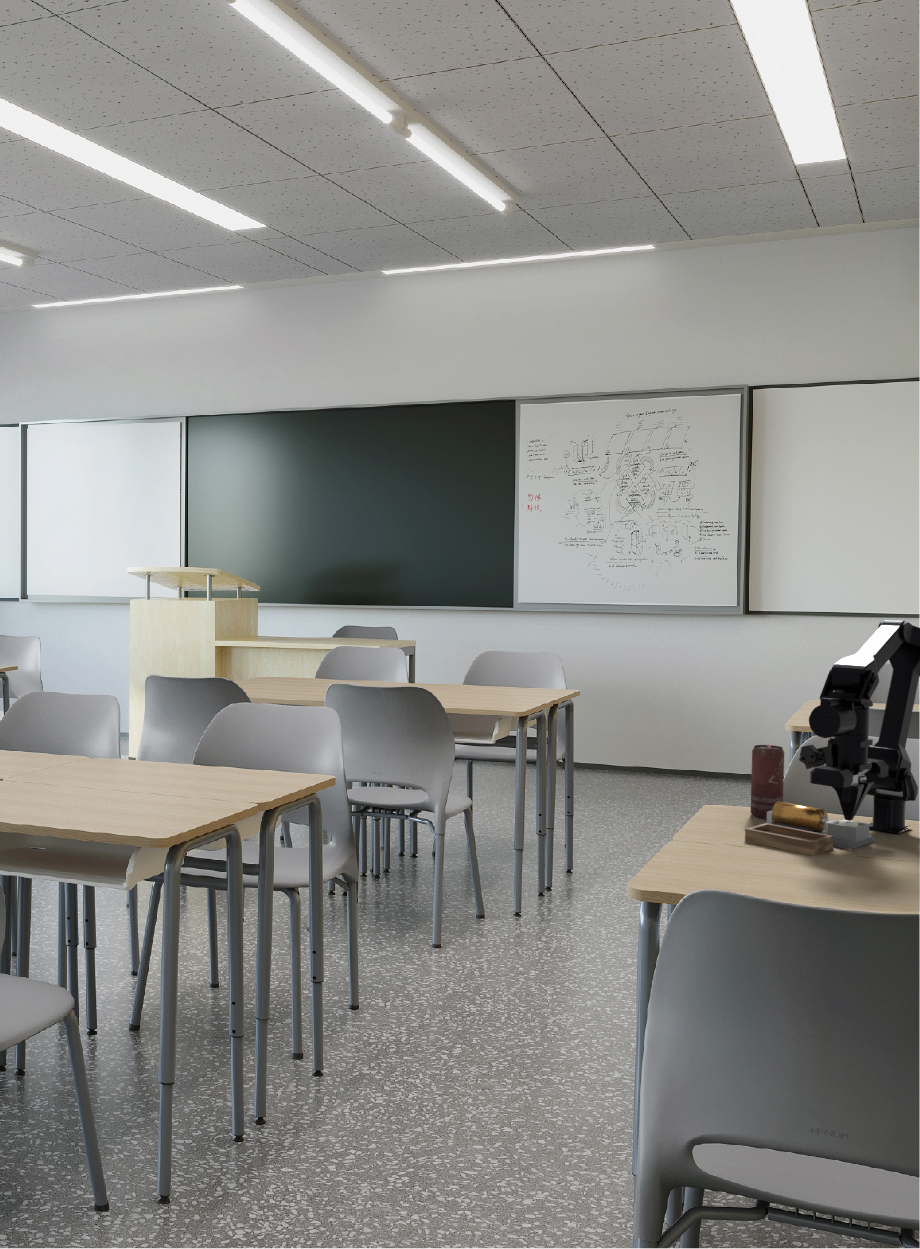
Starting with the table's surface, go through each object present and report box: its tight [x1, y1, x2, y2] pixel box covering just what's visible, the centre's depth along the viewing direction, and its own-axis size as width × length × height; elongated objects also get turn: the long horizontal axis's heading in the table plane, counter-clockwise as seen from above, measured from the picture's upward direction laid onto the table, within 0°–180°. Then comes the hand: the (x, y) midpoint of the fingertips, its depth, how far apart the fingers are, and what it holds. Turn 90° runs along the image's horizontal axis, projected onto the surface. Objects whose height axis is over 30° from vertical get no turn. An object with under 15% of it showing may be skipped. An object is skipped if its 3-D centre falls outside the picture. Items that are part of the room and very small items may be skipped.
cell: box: [772, 801, 829, 831], centre depth 191 cm, size 4×10×4 cm, turn 44°
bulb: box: [838, 819, 859, 827], centre depth 184 cm, size 3×3×2 cm
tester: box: [766, 810, 875, 851], centre depth 189 cm, size 9×18×4 cm, turn 44°
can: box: [750, 744, 785, 820], centre depth 205 cm, size 6×6×14 cm
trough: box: [744, 822, 834, 856], centre depth 182 cm, size 7×13×2 cm, turn 44°
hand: (848, 820), depth 184 cm, fingers closed
